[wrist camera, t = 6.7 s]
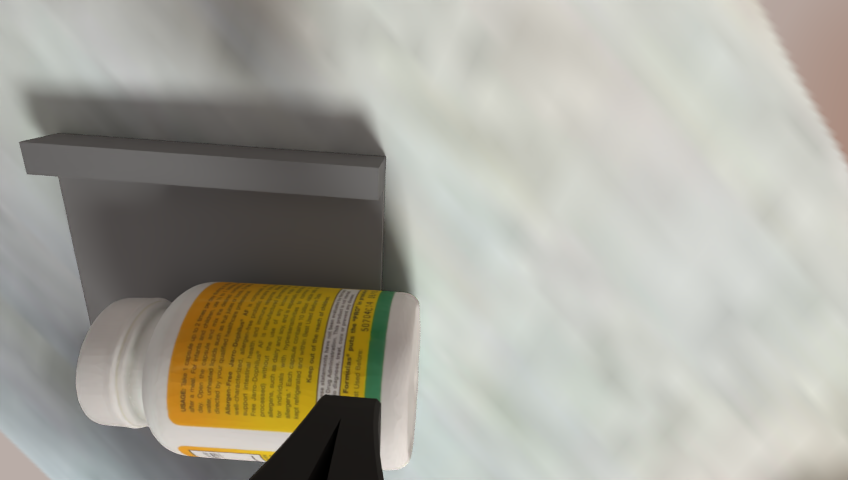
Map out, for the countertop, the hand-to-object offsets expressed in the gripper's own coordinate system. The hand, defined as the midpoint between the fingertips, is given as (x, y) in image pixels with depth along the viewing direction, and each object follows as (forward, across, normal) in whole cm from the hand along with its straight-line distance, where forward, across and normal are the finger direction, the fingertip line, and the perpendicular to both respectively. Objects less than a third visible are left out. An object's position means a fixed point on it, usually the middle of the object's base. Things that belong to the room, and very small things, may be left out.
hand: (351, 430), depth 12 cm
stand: (+7, +6, 0) cm, 9 cm away
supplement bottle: (+4, -2, +1) cm, 4 cm away
